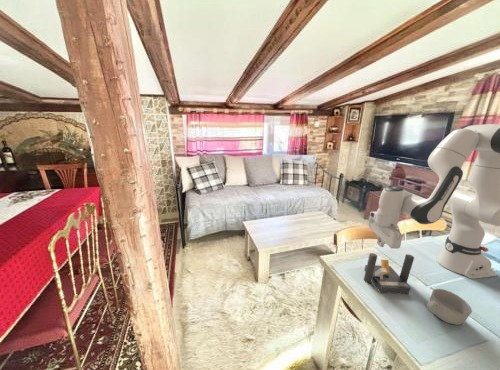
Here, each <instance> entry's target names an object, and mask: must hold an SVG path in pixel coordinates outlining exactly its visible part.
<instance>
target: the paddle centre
mask: <svg viewBox="0 0 500 370" xmlns="http://www.w3.org/2000/svg"><path fill="white" fill-rule="evenodd" d="M380 263H381V265H380V266H382V268H386V271H387V272H386V273H385V274H384V275H389V274H390V271H389V266H390V265H389V260H388V259H380Z"/></svg>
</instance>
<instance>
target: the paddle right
mask: <svg viewBox="0 0 500 370" xmlns="http://www.w3.org/2000/svg"><path fill="white" fill-rule="evenodd" d="M386 272H387V271H386V268H379V269H378V270H377V271H376V272H374V276H377V277H381V276H382V275H384V274H385V273H386Z"/></svg>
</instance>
